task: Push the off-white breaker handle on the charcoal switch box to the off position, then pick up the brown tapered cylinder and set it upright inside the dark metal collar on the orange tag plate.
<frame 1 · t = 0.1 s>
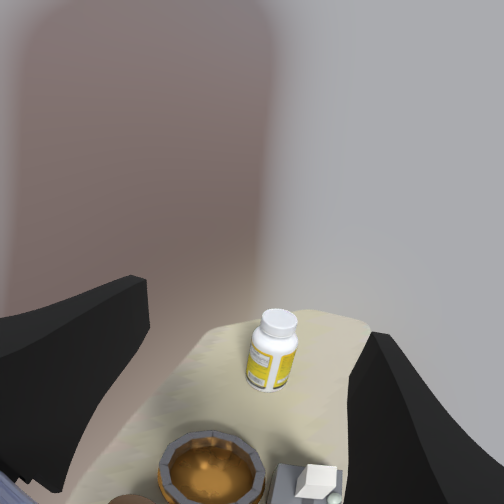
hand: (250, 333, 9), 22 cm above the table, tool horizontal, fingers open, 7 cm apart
breaker handle: (315, 482, 17), point 5 cm above the table, slide at 0.0 cm
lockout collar: (211, 478, 20), on the table
supplement bottle: (265, 379, 35), on the table
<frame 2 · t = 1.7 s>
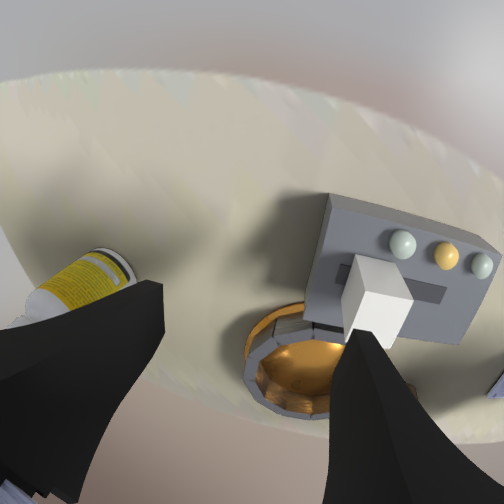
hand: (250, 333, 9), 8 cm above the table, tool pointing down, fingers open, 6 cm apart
breaker handle: (373, 299, 11), point 5 cm above the table, slide at 0.0 cm
switch box: (398, 263, 15), on the table
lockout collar: (314, 359, 19), on the table
supplement bottle: (113, 277, 20), on the table
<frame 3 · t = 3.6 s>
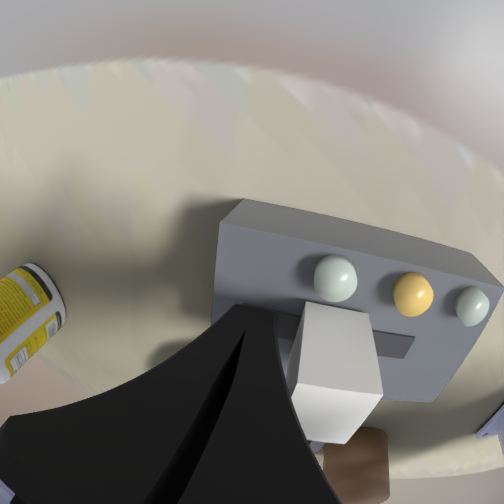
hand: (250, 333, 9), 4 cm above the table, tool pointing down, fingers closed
breaker handle: (326, 373, 7), point 5 cm above the table, slide at 1.4 cm, touching gripper
switch box: (351, 293, 11), on the table
supplement bottle: (45, 293, 17), on the table
brown tapered cylinder: (355, 442, 16), on the table
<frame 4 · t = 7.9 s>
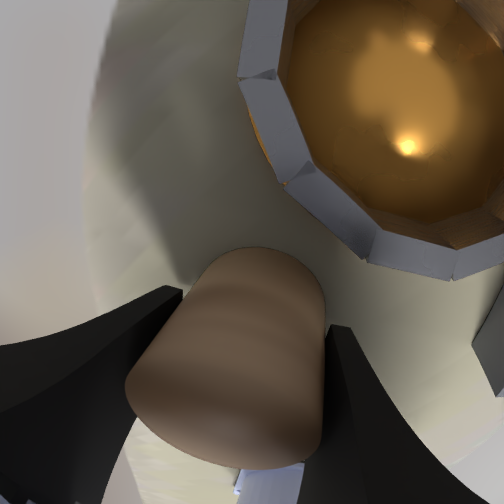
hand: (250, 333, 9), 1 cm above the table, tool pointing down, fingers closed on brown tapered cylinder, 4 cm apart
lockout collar: (421, 90, 6), on the table
brown tapered cylinder: (259, 307, 10), on the table, touching gripper
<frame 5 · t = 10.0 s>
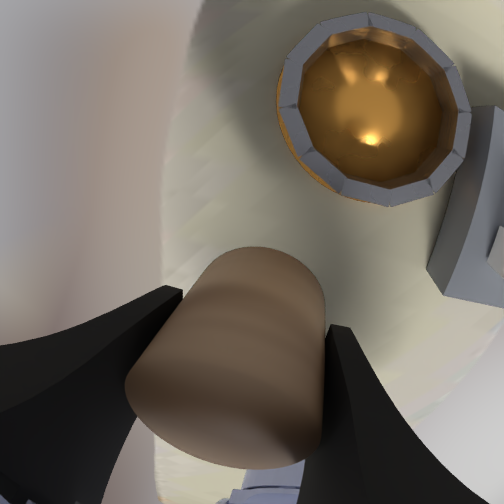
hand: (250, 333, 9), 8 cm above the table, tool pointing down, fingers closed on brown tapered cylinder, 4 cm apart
switch box: (488, 204, 12), on the table
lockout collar: (374, 108, 12), on the table
brown tapered cylinder: (259, 307, 10), point 7 cm above the table, touching gripper
when the fingers open (3 cm above the table, at t = 12.2 s): brown tapered cylinder drops 1 cm, resting on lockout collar.
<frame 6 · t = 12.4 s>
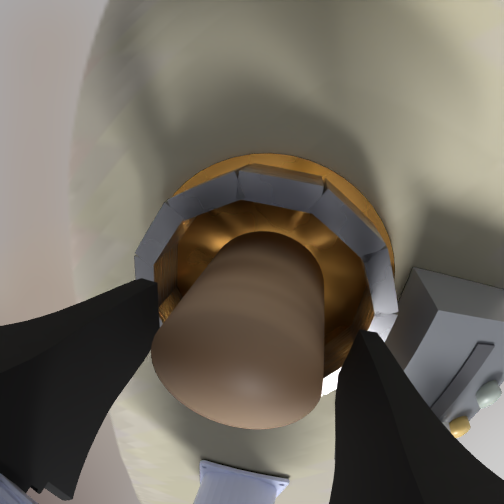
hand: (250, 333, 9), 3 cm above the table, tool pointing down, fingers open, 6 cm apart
breaker handle: (421, 461, 8), point 5 cm above the table, slide at 4.1 cm
switch box: (421, 366, 12), on the table
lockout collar: (267, 282, 11), on the table
brown tapered cylinder: (265, 286, 11), resting on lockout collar
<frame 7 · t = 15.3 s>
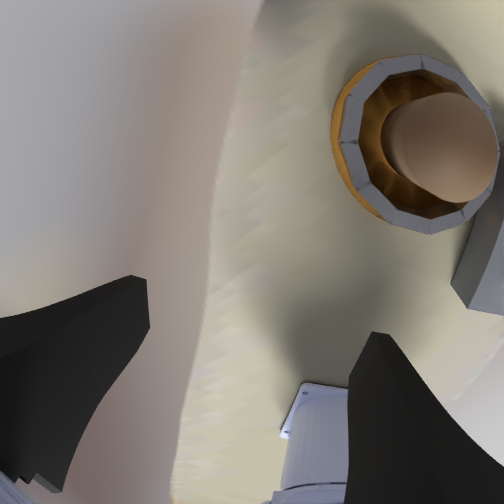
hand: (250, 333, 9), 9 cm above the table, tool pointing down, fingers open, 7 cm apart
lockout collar: (416, 141, 13), on the table
brown tapered cylinder: (417, 141, 13), resting on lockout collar
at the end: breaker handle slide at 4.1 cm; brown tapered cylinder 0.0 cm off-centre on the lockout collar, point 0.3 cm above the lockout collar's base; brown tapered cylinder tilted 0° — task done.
